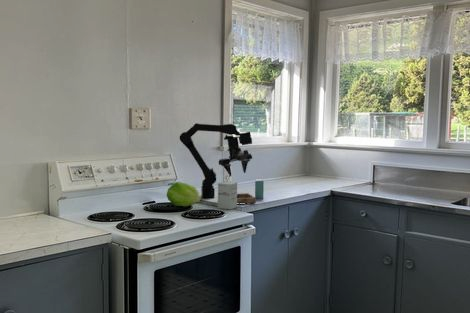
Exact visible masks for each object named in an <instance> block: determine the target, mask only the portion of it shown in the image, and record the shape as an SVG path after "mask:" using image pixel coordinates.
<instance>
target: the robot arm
mask: <svg viewBox="0 0 470 313" xmlns="http://www.w3.org/2000/svg"><path fill="white" fill-rule="evenodd" d="M199 131H201V132H215V133H222V134H225V136H224V138H223V140H224V141H227V147H228V148H227V152H228V153H229V156H228V158H227V157H226V158H225V157H224V158H221V159H219V160H218V165H219V166H222V167H223V168H224V169H225V170H226V172H227V174H228V176H229V177H232V169H231V166H232V164H231V163H234V162H235V161H238V162H240V163H241V167H242V172H243V173H244V174H245V173H246V172H247V168H248V163H249V162H250V161H251V160H252V159H253V155H252V154H251V153H249V150H248V149H246V150H242V149H241V147H240V145H242V146H248V145H252V144H253V139H252V135H251V132H250V131H246V132H241V133H240V131H238V129H237V126H236V125H235V124H234V123H226V124H225V123H224V124H208V123H197V122H196V123H194V124H193V125H192V126H191V127H190V128H189V129H188V130H187V131H183V132H181V134H180V135H179V140H180V142H181V143H182V144H183V146H184V147H186V148H187V149H188V150H189V152H190V154H191V156H192V157H193V158H194V161H195V162H196V164H197V165H198V167H199V168H200V170H201V172H202V174H203V176H204V179H203V180H202V181H201V189H200V190H201V194H200V197H201V199H214V198H215V194H216V193H215V192H216V191H215V188H214V184H215V183H216V182H217V173H216V172H215V171H214V168H213V167H211V168H210V167H209V166H208V164H207V163H206V162H205V160H204V158H203V156H202V155H201V153H200V152H199V150H198V149H197V147H196V146H195V143H194V140H193V138H192V137H193V136H194V135H195V134H197V132H199ZM234 135H235V136H234Z"/></svg>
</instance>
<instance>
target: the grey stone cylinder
mask: <svg viewBox="0 0 470 313" xmlns="http://www.w3.org/2000/svg"><path fill="white" fill-rule="evenodd" d="M237 194H238V182H234V181H227V180H226V181H220V182H218V183H217V209H223V210H224V209H225V210H233V209H235V208H237V207H238V205H237ZM236 206H237V207H236Z"/></svg>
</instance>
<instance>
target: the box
mask: <svg viewBox="0 0 470 313" xmlns="http://www.w3.org/2000/svg"><path fill="white" fill-rule="evenodd" d="M237 203H256V204H257V199H256V198H255V195H252V194H250V193H249V192H246V193H237Z"/></svg>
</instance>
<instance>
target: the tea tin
mask: <svg viewBox="0 0 470 313" xmlns="http://www.w3.org/2000/svg"><path fill="white" fill-rule="evenodd" d="M264 184H265V182H264V179H263V178H261V179H260V178H258V179H257V178H256V179H255V181H254V185H255V186H254V197H255V198H256V200H257V199H258V200H259V199H260V200H264V192H265V191H264Z"/></svg>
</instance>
